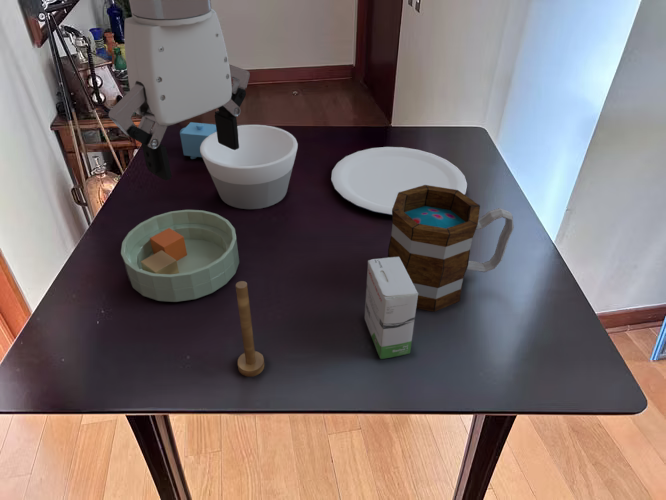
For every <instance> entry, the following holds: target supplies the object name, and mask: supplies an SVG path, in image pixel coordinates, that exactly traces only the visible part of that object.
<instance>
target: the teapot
mask: <svg viewBox="0 0 666 500" xmlns="http://www.w3.org/2000/svg"><path fill="white" fill-rule="evenodd" d="M215 132H217V130H216V123H214V124H213V123H204V122H202V123H201V122H192V121H191V122H189V124H187V125H186V126H185V127H182V128H181V129H180V131H179V136H180V141H181V142H180V143H181V148H182V153H183V156H186V157H190V160H195V159H197V158H202V155H201V153H200V146H201V144H202V142H203V141H204V140H205V138H207V137H208V136H209V135H211V134H213V133H215Z"/></svg>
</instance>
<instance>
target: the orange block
mask: <svg viewBox="0 0 666 500" xmlns="http://www.w3.org/2000/svg"><path fill="white" fill-rule="evenodd" d="M150 241H151V245H152V249H153V253H154V254H155V253H157V252H159V251H161V250H162V251H164V252H165V253H167V254H168V255H169V256H171V257H172V258H174V259H175V260H176V261H178V260H180V259H181V258H183V257H185V256H186V255H187V251H186V246H185V241H184V237H183V236H182V235H180V234H178V233H177V232H175V231H173V230H172V229H170V228H168V229H166V230H164V231H162V232H160V233H159V234H157V235H155V236H153V237H151V238H150Z"/></svg>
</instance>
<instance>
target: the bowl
mask: <svg viewBox="0 0 666 500" xmlns="http://www.w3.org/2000/svg"><path fill="white" fill-rule="evenodd" d="M237 128H238V141H239V148H238V149H236V150H232V149H230V148H228V147H226V146H224V145H222V144H220V143H219V142H218V138H217V132H215V133H213V134H211V135H209V136H208V137H207V138H205V140H204V141H203V142H202V144H201V146H200V153H201V155H202V157H201V158H202V160H203V162H204V164H205V166H206V169H207V171H208V173H209V175H210V177H211V180H212V182H213V184H214V187H215V188H216V189H215V190H216V191H217V193H218V196H219V197H220V199H221V200H222V201H223V202H224V203H225V204H227V205H228V206H230V207H233V208H235V209H240V210H241V209H242V210H243V209H244V210H259V209H263V208H269V207H271V206H274V205H275V204H278V203H279V202H281V201H282V200H283V199H284V198H285V197H286V195H287V192H288V188H289V184H290V181H291V180H290V179H291V177H292V172H293V167H294V164H295V160H296V156H297V152H298V147H299V143H298V141H297V138H296V137H295V135H293V134H292V133H290V132H289V131H287V130H285V129H283V128H280V127H277V126H272V125H265V124H239V125H237Z"/></svg>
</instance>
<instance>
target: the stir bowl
mask: <svg viewBox="0 0 666 500" xmlns="http://www.w3.org/2000/svg"><path fill="white" fill-rule="evenodd" d="M168 228H170V229H172V230H173V231H175V232H177V233H178V234H180V235H182V236H183V237H184V241H185V246H186V251H187V255H186V256H185V257H183V258H181V259H180V260H178V261H177V265H178V270H179V273H178V274H155V273H151V272H147V271H144V270H143V269H142V265H141V261H143V260H144V259H146V258H148V257H150V256H152V255H154V253H153V249H152V245H151V241H150V238H151V237H153V236H155V235H157V234H159V233H160V232H162V231H164V230H166V229H168ZM120 256H121V258H122V262H123V266H124V269H125V273H126V275H127V278H128V281H129V283H130V285H131V287H132V289H134V290H135V291H136V292H137V293H139V294H140V295H141V296H142V297H146V298H148V299H152V300H155V301H158V302H170V303H179V302H186V301H191V300H197V299H200V298H203V297H205V296H208V295H211V294H213V293H215V292H216V291H217V290H219V289H221V288H223V287H224V286H225V285H227V284H228V283H229V281H230V280H231V279H232V278H233V277H234V276H235V275H236V273H237V270H238V267H239V264H240V258H239V257H240V256H239V250H238V240H237V234H236V228H235V227H234V226H233V225H232V223H231V222H230V221H229V220H228V219H226V218H225V217H224V216H221V215H219V214H218V213H215V212H211V211H206V210H203V209H202V210H201V209H200V210H199V209H182V210H181V209H180V210H173V211H168V212H164V213H161V214H158V215H153V216H152V217H150V218H148V219H145V220H144V221H142V222H139V224H137V225H136V226H135V227H133V228H132V229H131V230H130V231H129V232H128V233H127V234H126V235H125V237H124V238H123V241H122V242H121V248H120Z"/></svg>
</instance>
